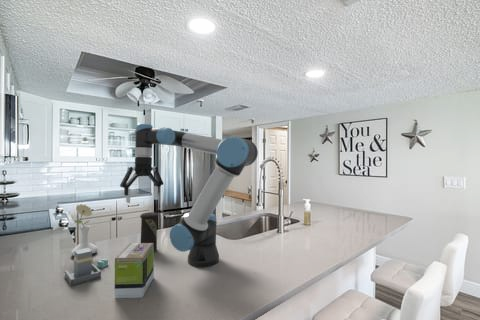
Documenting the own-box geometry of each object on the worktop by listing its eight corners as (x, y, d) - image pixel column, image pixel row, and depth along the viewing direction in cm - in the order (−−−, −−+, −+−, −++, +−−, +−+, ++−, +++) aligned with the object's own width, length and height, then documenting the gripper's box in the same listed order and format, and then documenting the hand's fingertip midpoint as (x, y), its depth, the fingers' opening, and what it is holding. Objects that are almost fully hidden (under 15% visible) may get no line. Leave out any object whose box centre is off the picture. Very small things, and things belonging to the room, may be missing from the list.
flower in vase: (102, 252, 126) (103, 204, 126) (80, 260, 115) (81, 207, 115) (86, 248, 131) (87, 201, 131) (63, 255, 121) (64, 205, 121)
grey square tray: (100, 277, 100) (100, 271, 100) (71, 286, 93) (71, 279, 93) (92, 268, 107) (92, 263, 107) (64, 276, 100) (64, 270, 100)
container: (151, 254, 125) (152, 215, 125) (135, 252, 127) (136, 214, 127) (160, 248, 133) (161, 212, 133) (145, 246, 135) (146, 210, 135)
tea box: (129, 278, 100) (129, 242, 100) (154, 277, 101) (155, 242, 101) (113, 299, 85) (114, 256, 85) (142, 298, 86) (143, 256, 86)
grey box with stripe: (91, 275, 100) (92, 250, 100) (77, 279, 97) (77, 254, 97) (87, 271, 104) (88, 247, 104) (73, 275, 100) (74, 250, 100)
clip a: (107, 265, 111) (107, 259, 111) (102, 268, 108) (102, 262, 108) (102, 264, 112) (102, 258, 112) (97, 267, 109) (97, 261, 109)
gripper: (163, 157, 128) (162, 197, 129) (113, 155, 110) (111, 202, 110) (171, 157, 123) (169, 199, 123) (119, 156, 105) (118, 205, 105)
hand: (142, 201), depth 117 cm, fingers open, 13 cm apart
